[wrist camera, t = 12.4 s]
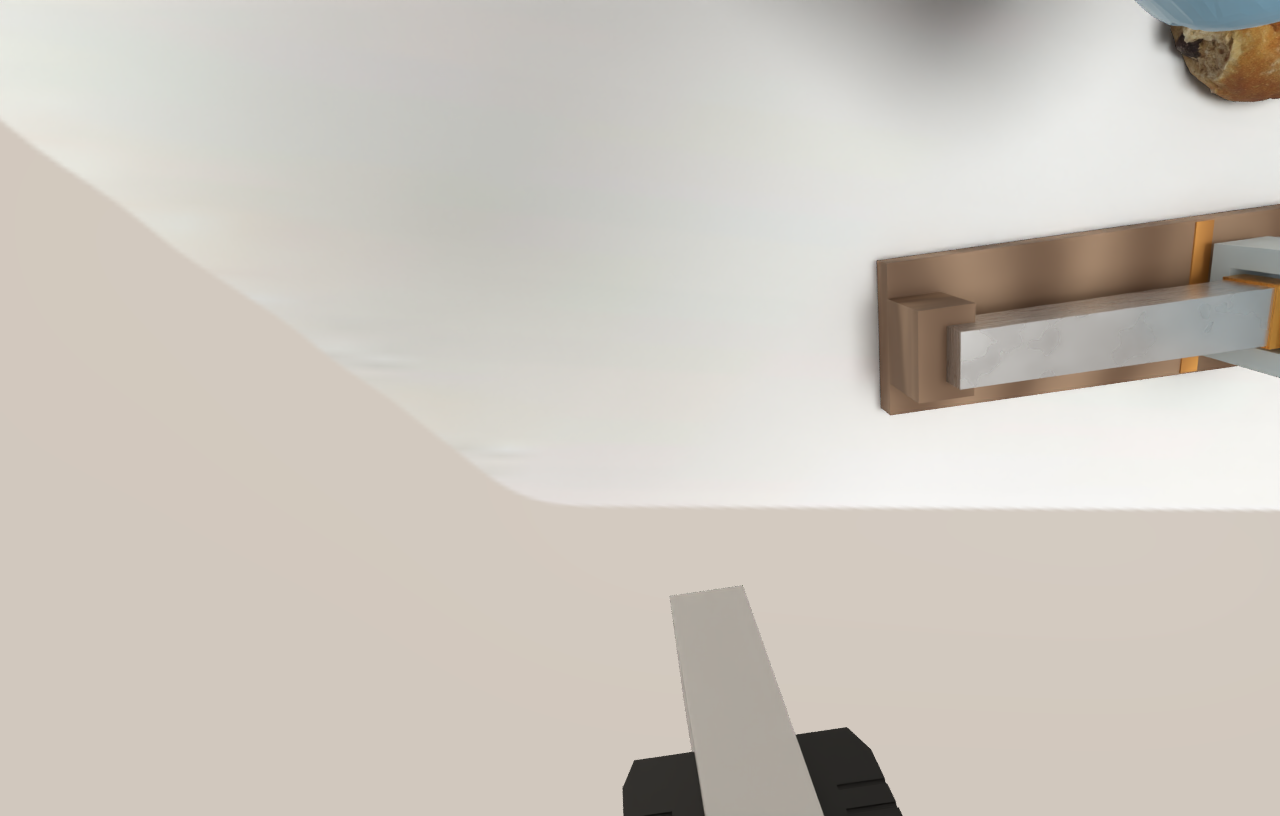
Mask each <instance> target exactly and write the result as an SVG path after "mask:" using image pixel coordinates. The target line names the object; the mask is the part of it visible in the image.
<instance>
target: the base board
mask: <svg viewBox="0 0 1280 816" xmlns="http://www.w3.org/2000/svg"><path fill="white" fill-rule="evenodd" d="M1265 236H1272V237H1280V204H1277V205H1270V206H1263V207H1256V208H1249V209H1242V210H1235V211H1227V212H1220V213H1213V214H1206V215H1199V216H1192V217H1185V218H1177V219H1170V220H1163V221H1156V222H1149V223H1142V224H1135V225H1127V226H1120V227H1113V228H1106V229H1099V230H1092V231H1085V232H1078V233H1070V234H1063V235H1056V236H1049V237H1042V238H1035V239H1028V240H1020V241H1013V242H1006V243H999V244H992V245H985V246H978V247H970V248H963V249H956V250H949V251H942V252H935V253H928V254H920V255H913V256H906V257H899V258H892V259H885V260H878V261H877V281H878V318H879V355H880V392H881V408H882V409H883V410H884V411H886V412H887V413H888V414H889V415H896V414H903V413H910V412H917V411H924V410H931V409H938V408H945V407H952V406H959V405H966V404H973V403H980V402H987V401H994V400H1001V399H1008V398H1015V397H1022V396H1029V395H1037V394H1044V393H1051V392H1058V391H1065V390H1072V389H1079V388H1086V387H1093V386H1100V385H1107V384H1114V383H1121V382H1128V381H1135V380H1142V379H1149V378H1156V377H1163V376H1170V375H1177V374H1184V373H1191V372H1198V371H1205V370H1212V369H1219V368H1226V367H1233V366H1237V365H1234V364H1230V363H1227V362H1223V361H1220V360H1216V359H1213V358H1209V357H1206V356H1202V355H1201V356H1194V357H1187V358H1180V359H1173V360H1166V361H1159V362H1152V363H1145V364H1138V365H1130V366H1123V367H1116V368H1109V369H1102V370H1095V371H1088V372H1081V373H1074V374H1067V375H1060V376H1053V377H1046V378H1039V379H1032V380H1025V381H1018V382H1011V383H1004V384H997V385H990V386H983V387H976V388H969V389H962V390H960V389H958V388H957V387H955V386H953V385H951V384H950V383H948V382H947V326H953V325H960V324H967V323H974V322H975V317H976V315H979V314H986V313H993V312H1000V311H1008V310H1015V309H1022V308H1029V307H1036V306H1043V305H1050V304H1057V303H1064V302H1071V301H1078V300H1085V299H1093V298H1100V297H1107V296H1114V295H1121V294H1128V293H1135V292H1142V291H1149V290H1156V289H1163V288H1171V287H1178V286H1185V285H1192V284H1199V283H1206V282H1210V275H1211V266H1212V258H1213V250H1214V244H1215V243H1222V242H1229V241H1236V240H1243V239H1250V238H1258V237H1265Z"/></svg>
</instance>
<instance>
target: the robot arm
mask: <svg viewBox="0 0 1280 816" xmlns="http://www.w3.org/2000/svg"><path fill="white" fill-rule="evenodd" d="M1135 1H1136V2H1137V3H1138V4H1139V5H1140V6H1141V7H1142V8H1143V9H1144V10H1145V11H1146V12H1148V13H1149V14H1150V15H1151V16H1153V17H1154V18H1156V19H1158V20H1160V21H1162V22H1164V23H1166V24H1168V25H1172V26H1184V27H1187V28H1190V29H1193V30H1202V31H1210V32H1218V31H1231V30H1240V29H1246V28H1253V27H1258V26H1262V25H1267V24H1271V23H1276V22H1280V0H1135ZM670 603H671V610H672V617H673V624H674V631H675V639H676V646H677V654H678V660H679V668H680V676H681V683H682V690H683V698H684V705H685V711H686V718H687V724H688V730H689V736H690V743H691V749H692V752H689V753H682V754H676V755H669V756H662V757H655V758H648V759H641V760H634V762H633V765H632V767H631V770H630V772H629V774H628V777H627V779H626V782H625V784H624V786H623V813H624V816H902V814H901V811H900V809H899V808H897V806H896V801H895V799H894V797H893V795H892V793H891V790H890V788H889V786H888V784H886V782H885V778H884V776H883V774H882V772H881V770H880V767H879V765H878V763H877V761H876V759H875V757H874V755H873V753H872V751H871V749H870V748H869V747H868V746H867V745H866V744H865V743H863V742H862V741H861V740H860V739H859V738H858V737H857V736H856V735H855V734H854V733H853V732H851V731H850V730H849V729H848V728H847V727H845V728H838V729H831V730H825V731H818V732H811V733H805V734H797V735H795V732H794V729H793V727H792V724H791V721H790V718H789V715H788V712H787V710H786V707H785V704H784V701H783V698H782V695H781V692H780V690H779V687H778V684H777V681H776V678H775V675H774V673H773V670H772V667H771V664H770V661H769V658H768V655H767V653H766V650H765V647H764V644H763V641H762V639H761V636H760V633H759V630H758V627H757V624H756V622H755V619H754V616H753V613H752V610H751V607H750V605H749V601H748V599H747V596H746V593H745V590H744V587H743V585H742V586H735V587H728V588H722V589H714V590H707V591H700V592H693V593H687V594H680V595H674V596H670Z"/></svg>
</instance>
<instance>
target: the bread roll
mask: <svg viewBox="0 0 1280 816" xmlns="http://www.w3.org/2000/svg"><path fill="white" fill-rule="evenodd" d="M1171 32H1172V34H1173V37H1174V39H1175V45H1176V48H1177V49H1178V50H1179V51H1180V52H1181V53H1182V56H1183V58H1184V61H1185V63H1186V65H1187V67H1188V69H1189V71H1190V73H1191V74H1192V75H1194V76H1195V77H1196V78H1197V79H1198V80H1199V81H1200V82H1202V83H1203V84H1205V85H1206V86H1208V87H1209V88H1210V90H1211V93H1215V94H1217V95H1218V96H1220V97H1222V98H1224V99H1227V100H1230V101H1233V102H1236V101H1239V102H1255V101H1263V100H1266V99H1269V98H1272V99H1279V98H1280V22H1276V23H1271V24H1267V25H1262V26H1258V27H1253V28H1246V29H1240V30H1231V31H1218V32H1210V31H1202V30H1193V29H1190V28H1187V27H1184V26H1172V25H1171Z"/></svg>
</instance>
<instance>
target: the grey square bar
mask: <svg viewBox="0 0 1280 816" xmlns="http://www.w3.org/2000/svg"><path fill="white" fill-rule="evenodd" d="M1257 347H1261V348H1265V349H1269V350H1270V349H1277V348H1280V275H1279V274H1272V273H1270V274H1263V275H1251V274H1239V275H1231V276H1224V277H1223V280H1220V281H1213V282H1206V283H1199V284H1192V285H1185V286H1178V287H1171V288H1163V289H1156V290H1149V291H1142V292H1135V293H1128V294H1121V295H1114V296H1107V297H1100V298H1093V299H1085V300H1078V301H1071V302H1064V303H1057V304H1050V305H1043V306H1036V307H1029V308H1022V309H1015V310H1008V311H1000V312H993V313H986V314H979V315H976V317H975V322H974V323H967V324H960V325H953V326H947V382H948V383H950V384H951V385H953V386H955V387H957V388H958V389H960V390H962V389H969V388H976V387H983V386H990V385H997V384H1004V383H1011V382H1018V381H1025V380H1032V379H1039V378H1046V377H1053V376H1060V375H1067V374H1074V373H1081V372H1088V371H1095V370H1102V369H1109V368H1116V367H1123V366H1130V365H1138V364H1145V363H1152V362H1159V361H1166V360H1173V359H1180V358H1187V357H1194V356H1201V355H1208V354H1215V353H1222V352H1229V351H1236V350H1243V349H1250V348H1257Z"/></svg>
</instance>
